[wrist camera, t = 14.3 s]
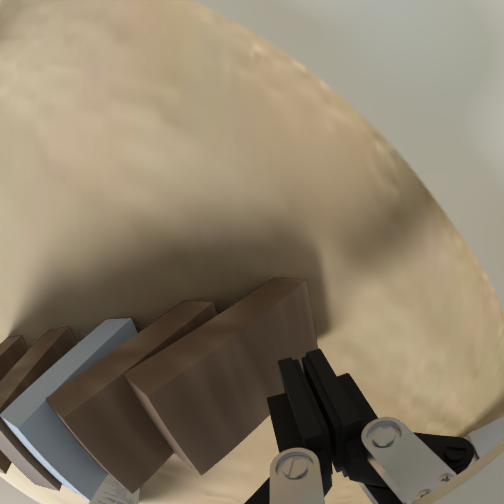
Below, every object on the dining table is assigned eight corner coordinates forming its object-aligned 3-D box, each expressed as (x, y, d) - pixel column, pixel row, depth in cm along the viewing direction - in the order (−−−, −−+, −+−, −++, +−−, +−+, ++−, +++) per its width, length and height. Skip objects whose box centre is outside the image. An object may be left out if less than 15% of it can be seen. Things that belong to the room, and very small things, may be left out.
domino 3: (131, 318, 14) (17, 428, 6) (164, 387, 15) (90, 500, 7) (106, 319, 15) (-1, 414, 6) (139, 385, 16) (64, 486, 7)
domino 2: (69, 326, 14) (-8, 419, 6) (102, 388, 16) (59, 491, 7) (47, 330, 14) (-28, 414, 6) (81, 390, 16) (34, 484, 7)
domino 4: (213, 302, 14) (62, 418, 6) (239, 378, 15) (132, 493, 8) (184, 300, 15) (44, 398, 7) (211, 373, 16) (107, 473, 9)
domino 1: (21, 335, 14) (-49, 408, 6) (53, 391, 15) (5, 474, 7) (7, 337, 14) (-60, 405, 5) (37, 391, 15) (-10, 467, 7)
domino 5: (306, 280, 14) (147, 396, 8) (319, 360, 15) (201, 475, 9) (274, 277, 15) (123, 373, 9) (291, 353, 16) (174, 453, 10)
